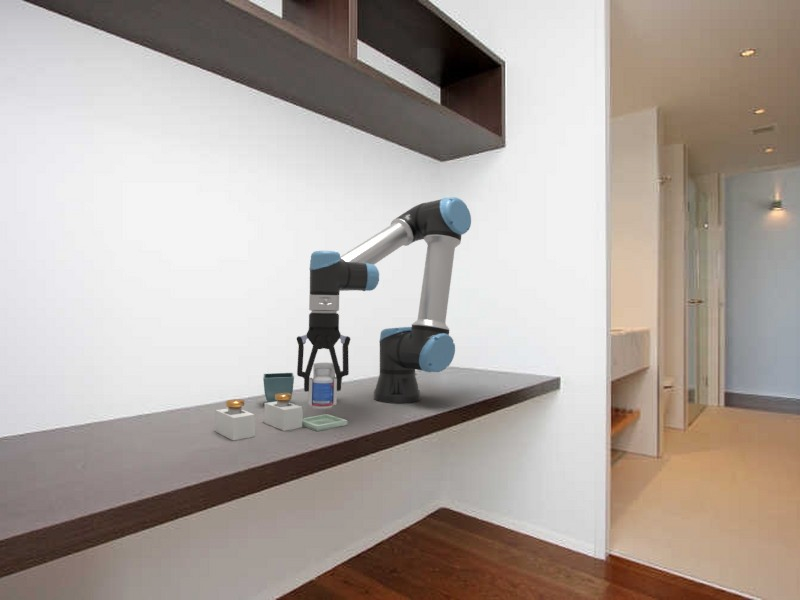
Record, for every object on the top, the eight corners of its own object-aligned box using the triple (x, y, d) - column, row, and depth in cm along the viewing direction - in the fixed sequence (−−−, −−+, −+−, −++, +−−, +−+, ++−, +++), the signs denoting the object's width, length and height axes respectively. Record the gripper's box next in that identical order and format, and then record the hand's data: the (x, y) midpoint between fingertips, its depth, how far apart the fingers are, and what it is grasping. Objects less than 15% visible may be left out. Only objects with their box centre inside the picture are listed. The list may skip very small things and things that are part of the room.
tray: (327, 418, 125) (327, 413, 125) (347, 425, 118) (347, 420, 118) (297, 424, 119) (297, 419, 119) (317, 431, 112) (317, 426, 112)
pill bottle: (335, 408, 117) (336, 369, 117) (314, 410, 115) (314, 370, 115) (329, 404, 122) (330, 366, 122) (309, 405, 120) (310, 367, 120)
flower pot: (262, 408, 135) (263, 377, 135) (263, 402, 144) (263, 373, 144) (293, 407, 138) (294, 376, 138) (292, 401, 146) (292, 372, 146)
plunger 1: (239, 428, 112) (239, 398, 112) (246, 431, 109) (247, 401, 109) (222, 430, 109) (223, 400, 109) (229, 434, 106) (230, 403, 106)
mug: (320, 405, 140) (320, 365, 140) (308, 402, 145) (309, 363, 145) (347, 401, 147) (348, 363, 147) (335, 398, 152) (336, 361, 152)
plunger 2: (286, 419, 120) (286, 392, 120) (294, 422, 117) (294, 394, 117) (271, 422, 118) (272, 394, 118) (279, 425, 115) (280, 396, 115)
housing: (281, 419, 123) (282, 400, 123) (302, 427, 116) (302, 407, 116) (215, 431, 111) (215, 410, 111) (233, 440, 103) (233, 417, 104)
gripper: (286, 311, 113) (284, 408, 113) (362, 312, 117) (360, 405, 117) (286, 311, 120) (284, 402, 120) (358, 312, 124) (356, 400, 124)
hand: (322, 403), depth 118 cm, fingers closed on pill bottle, 5 cm apart
